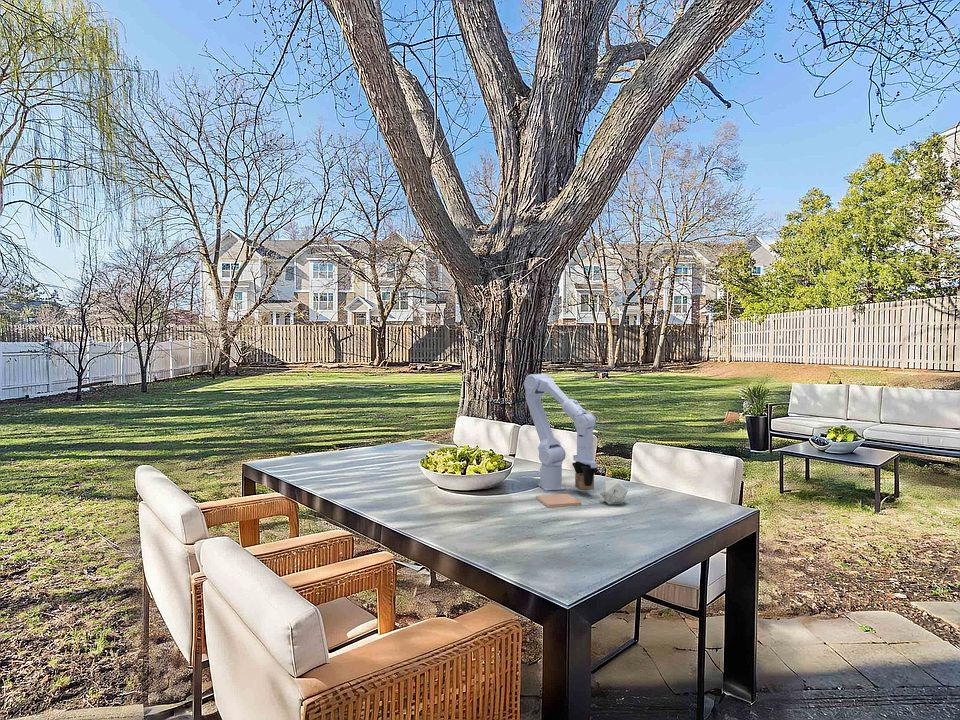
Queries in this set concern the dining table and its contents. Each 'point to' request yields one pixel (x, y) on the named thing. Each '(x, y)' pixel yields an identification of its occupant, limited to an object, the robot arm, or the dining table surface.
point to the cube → (582, 482)
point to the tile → (558, 500)
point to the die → (613, 492)
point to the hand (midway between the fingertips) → (584, 483)
